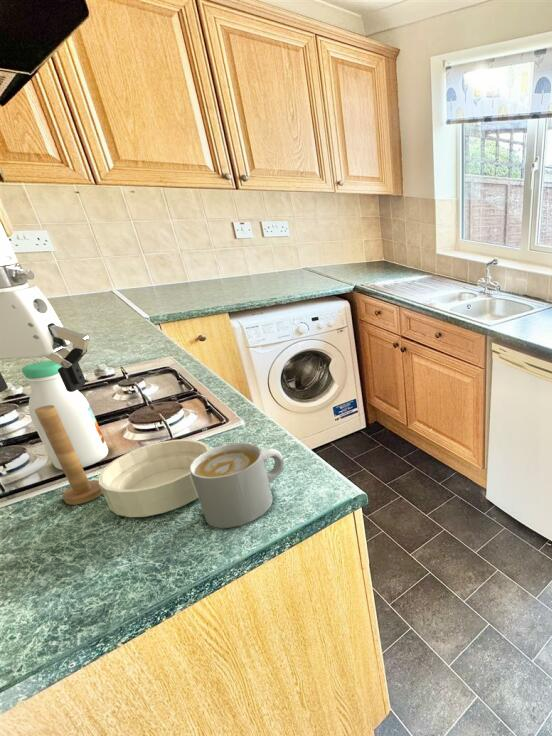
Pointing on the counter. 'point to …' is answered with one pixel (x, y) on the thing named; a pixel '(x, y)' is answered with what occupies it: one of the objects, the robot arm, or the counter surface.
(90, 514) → the counter surface
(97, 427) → the milk bottle
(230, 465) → the coffee mug
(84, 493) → the wooden masher
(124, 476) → the bowl
